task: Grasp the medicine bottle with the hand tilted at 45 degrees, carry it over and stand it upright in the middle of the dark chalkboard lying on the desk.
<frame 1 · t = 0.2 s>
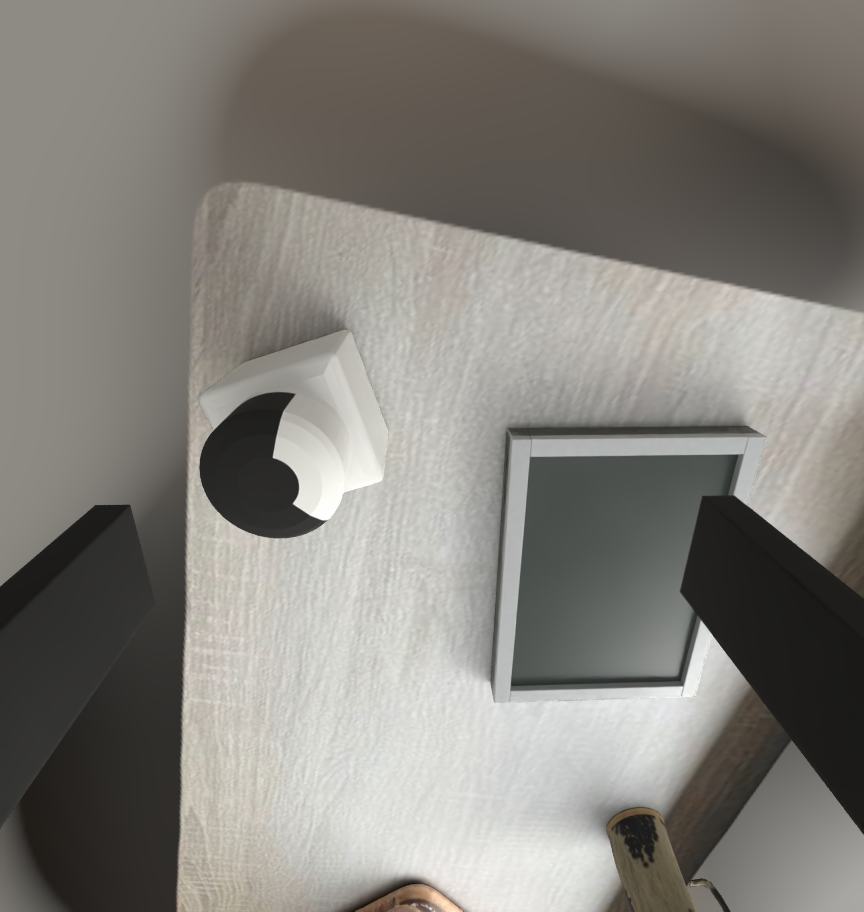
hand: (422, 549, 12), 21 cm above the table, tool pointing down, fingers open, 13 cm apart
chalkboard: (605, 567, 38), on the table
medicine bottle: (317, 398, 32), on the table
mug: (644, 822, 50), on the table
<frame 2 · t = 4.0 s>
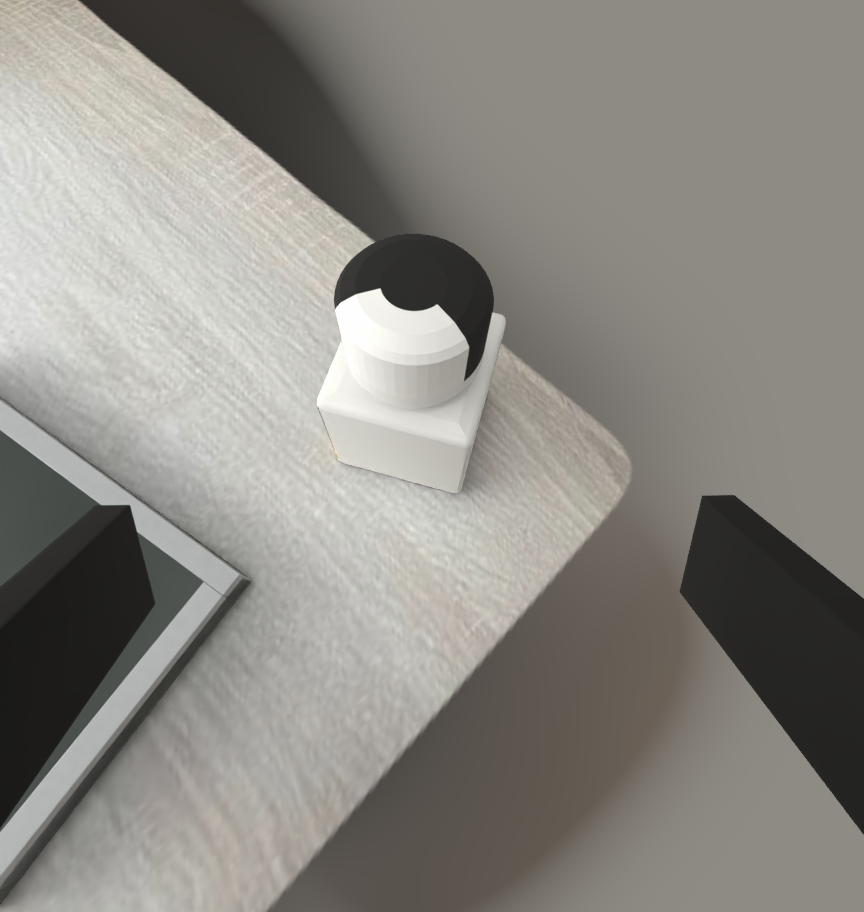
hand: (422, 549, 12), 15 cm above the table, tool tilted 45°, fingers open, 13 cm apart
medicine bottle: (415, 425, 30), on the table
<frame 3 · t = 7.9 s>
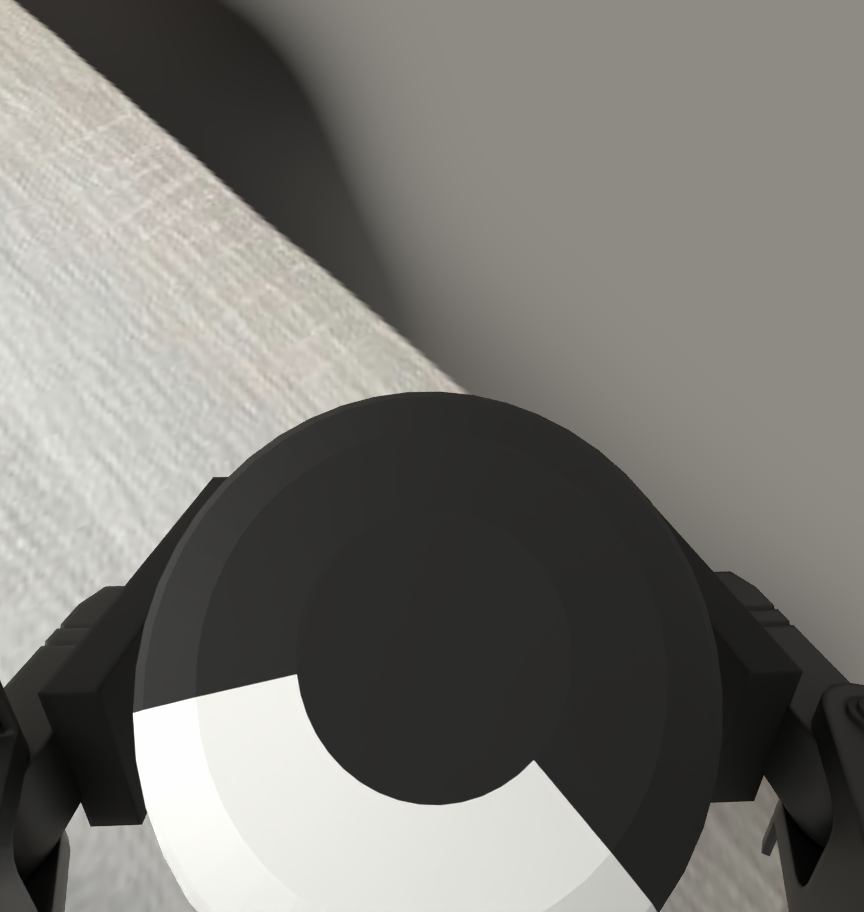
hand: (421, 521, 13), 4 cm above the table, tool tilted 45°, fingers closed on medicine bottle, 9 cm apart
medicine bottle: (421, 657, 16), on the table, touching gripper
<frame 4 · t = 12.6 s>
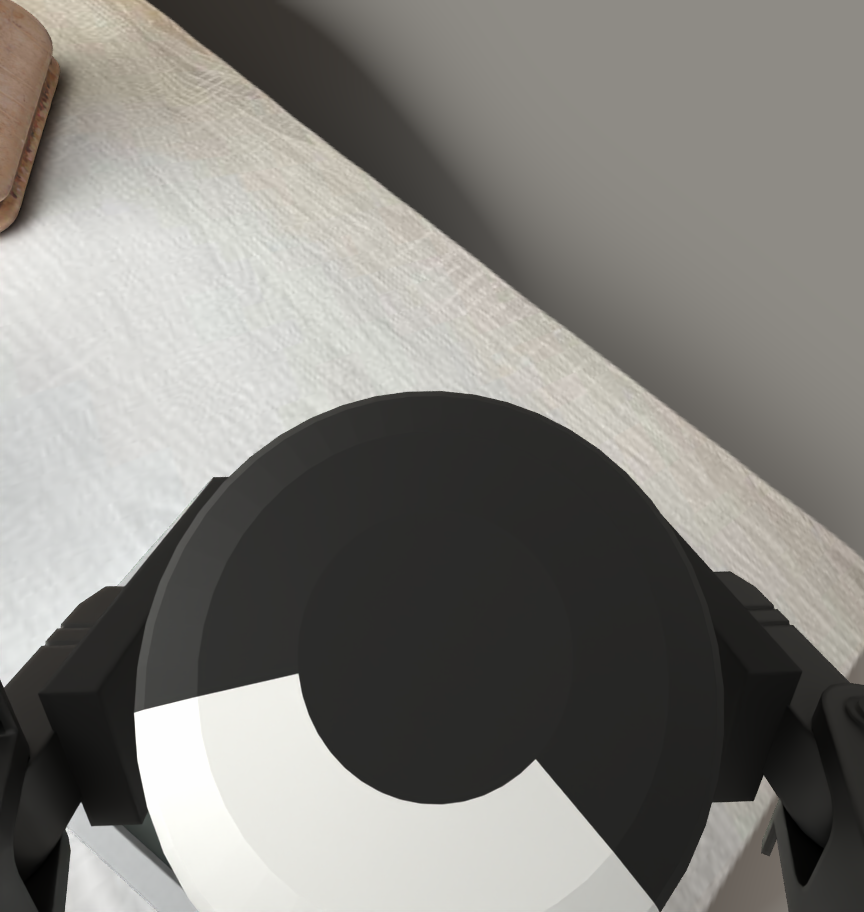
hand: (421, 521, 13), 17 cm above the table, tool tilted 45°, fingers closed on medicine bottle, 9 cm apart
chalkboard: (280, 724, 27), on the table
medicine bottle: (422, 657, 16), point 13 cm above the table, touching gripper
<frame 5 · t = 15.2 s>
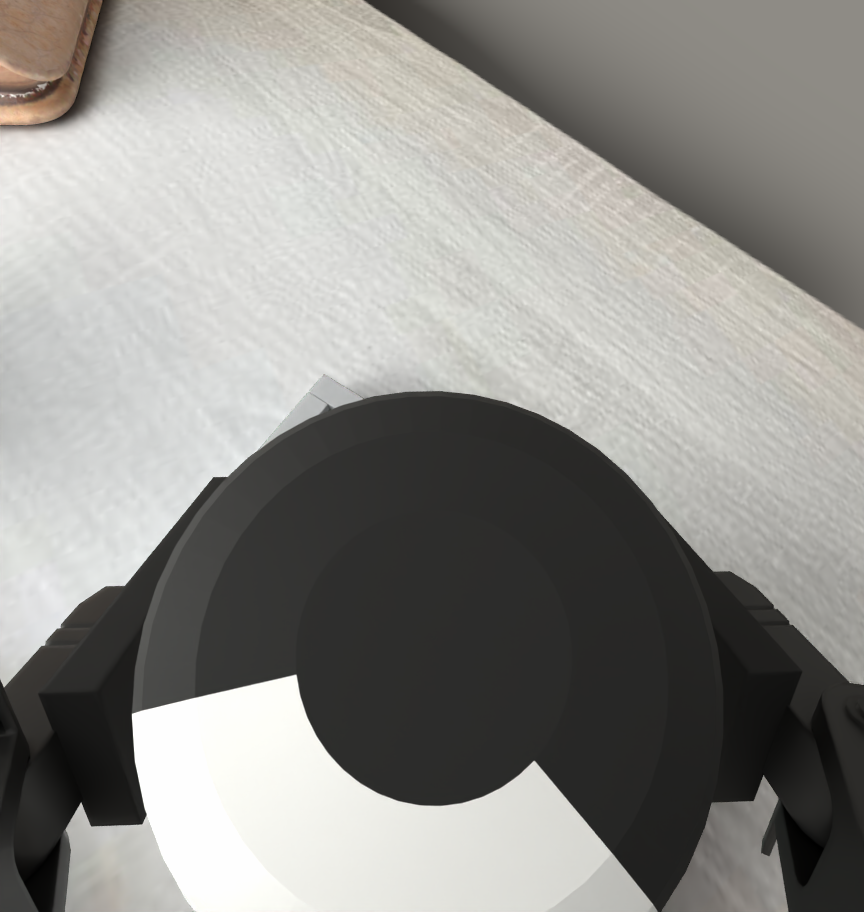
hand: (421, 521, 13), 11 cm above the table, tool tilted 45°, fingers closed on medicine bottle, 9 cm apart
chalkboard: (420, 658, 22), on the table
medicine bottle: (421, 657, 16), point 7 cm above the table, touching gripper
when the fingers open (5 cm above the table, at t = 17.2 s): medicine bottle stays where it is, resting on chalkboard.
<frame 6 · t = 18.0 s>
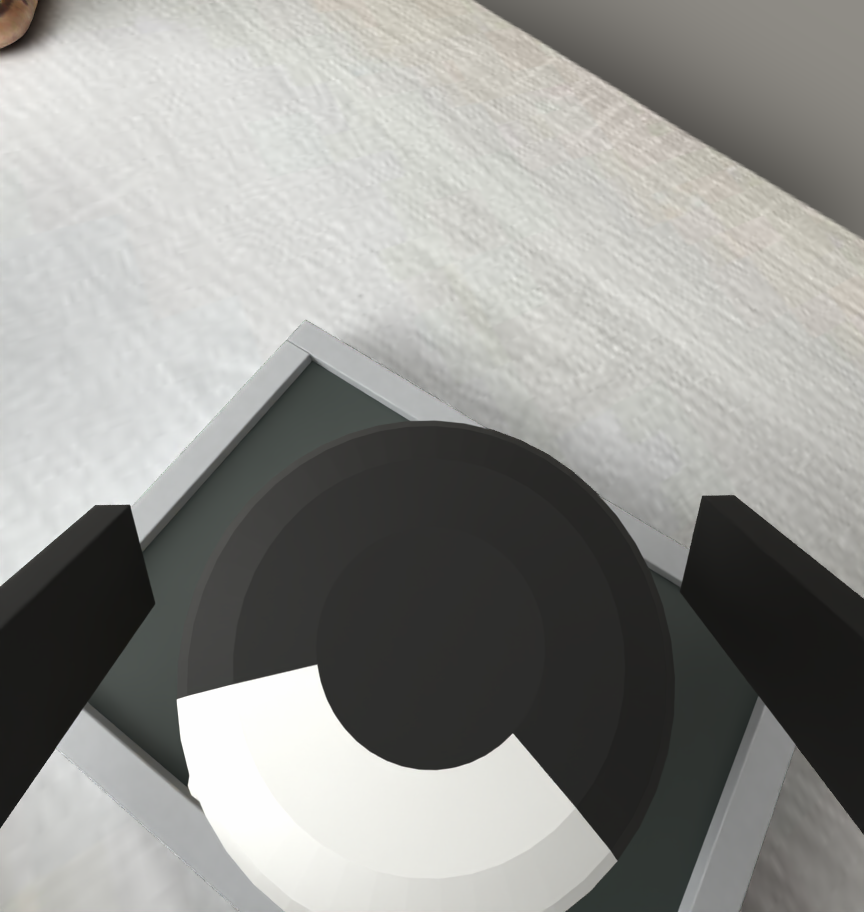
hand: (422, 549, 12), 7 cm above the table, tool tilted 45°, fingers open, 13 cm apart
chalkboard: (419, 655, 18), on the table
medicine bottle: (420, 655, 17), point 1 cm above the table, touching chalkboard
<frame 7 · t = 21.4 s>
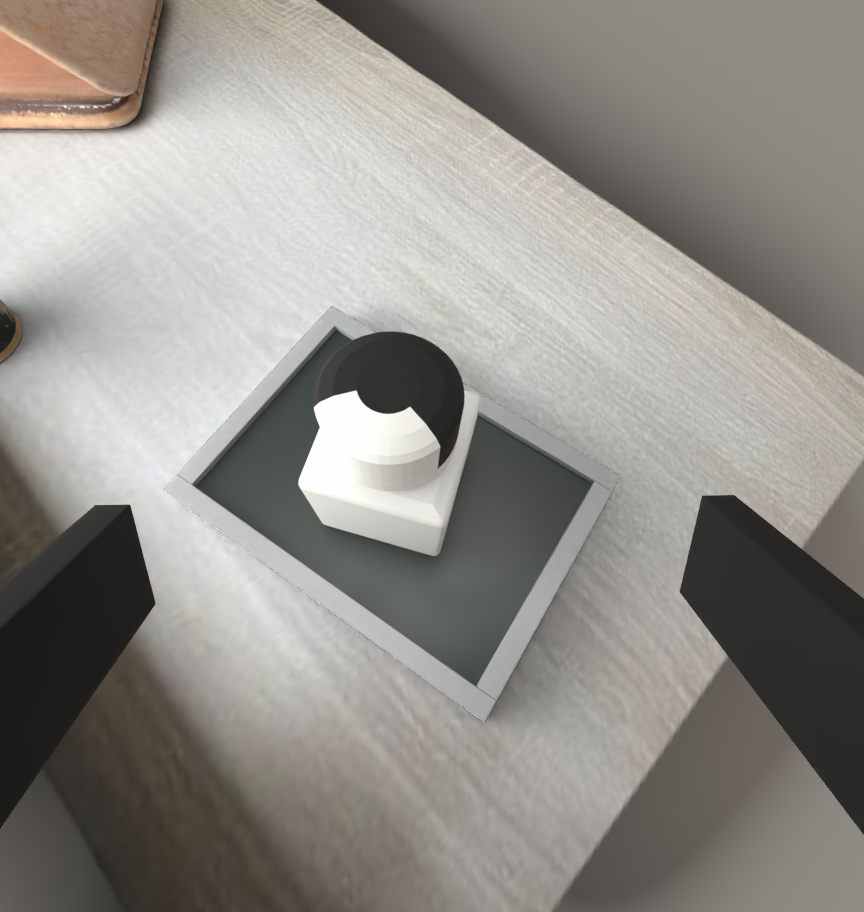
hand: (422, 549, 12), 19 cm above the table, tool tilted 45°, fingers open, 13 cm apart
chalkboard: (397, 492, 32), on the table
medicine bottle: (397, 486, 31), point 1 cm above the table, touching chalkboard
case: (46, 60, 47), on the table
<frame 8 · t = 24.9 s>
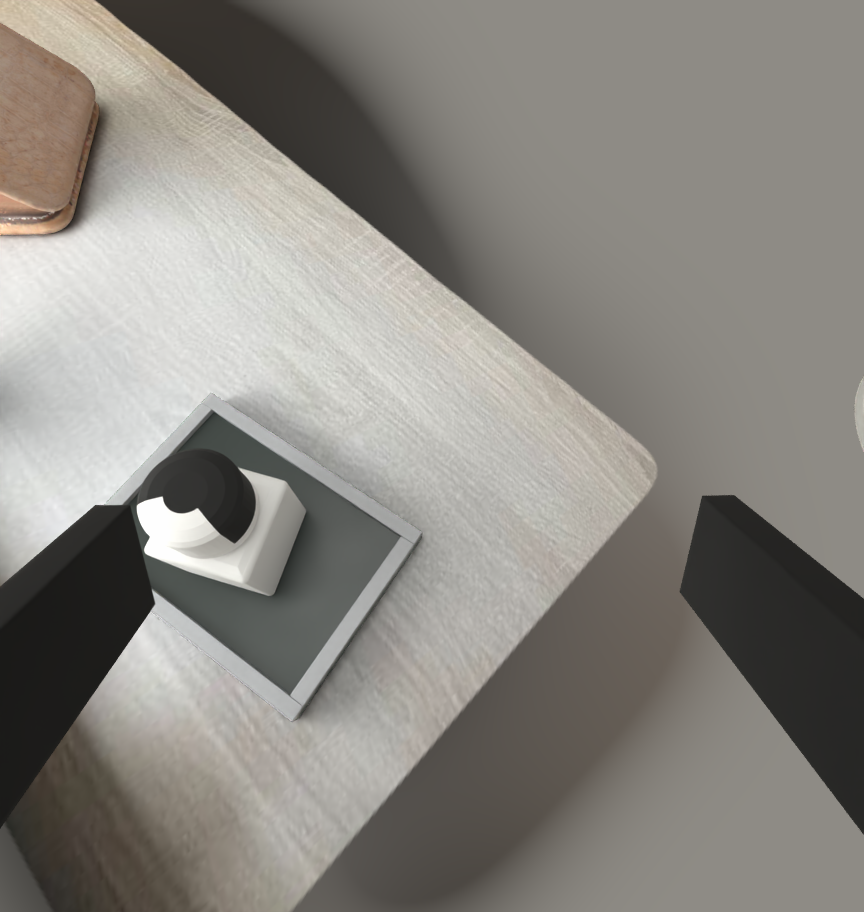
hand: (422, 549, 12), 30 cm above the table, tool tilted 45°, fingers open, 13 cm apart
chalkboard: (254, 543, 42), on the table
medicine bottle: (249, 540, 41), point 1 cm above the table, touching chalkboard
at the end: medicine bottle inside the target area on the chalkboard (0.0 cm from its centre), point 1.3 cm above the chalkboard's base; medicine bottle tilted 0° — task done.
